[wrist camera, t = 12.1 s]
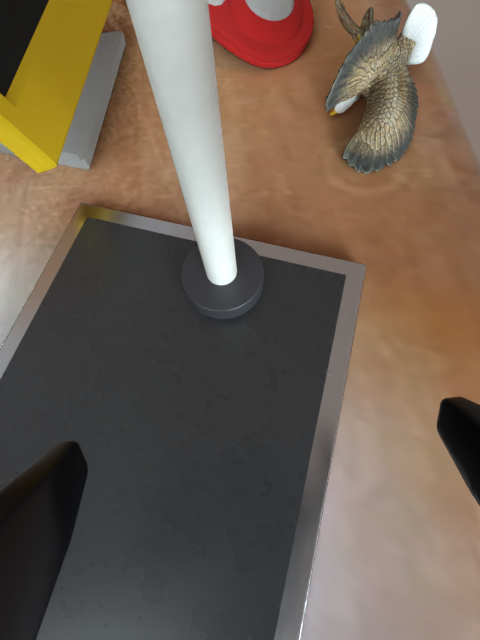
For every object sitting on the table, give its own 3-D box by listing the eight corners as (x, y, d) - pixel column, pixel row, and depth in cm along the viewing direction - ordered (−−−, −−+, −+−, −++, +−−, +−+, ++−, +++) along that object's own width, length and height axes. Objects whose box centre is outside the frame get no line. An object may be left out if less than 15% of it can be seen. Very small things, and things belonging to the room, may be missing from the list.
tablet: (255, 867, 11) (255, 902, 10) (-159, 664, 14) (-186, 679, 13) (362, 271, 19) (367, 263, 18) (86, 210, 21) (79, 200, 20)
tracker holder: (323, 57, 24) (186, 24, 22) (301, 103, 28) (185, 78, 26) (327, -83, 25) (199, -124, 23) (305, -18, 30) (195, -49, 28)
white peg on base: (251, 328, 17) (240, 33, 5) (173, 308, 18) (-19, -1, 5) (272, 258, 18) (307, -112, 6) (199, 241, 19) (96, -126, 7)
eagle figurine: (294, 61, 24) (290, 129, 19) (376, -64, 18) (398, -11, 14) (366, 123, 27) (377, 194, 22) (454, 32, 21) (493, 101, 17)
